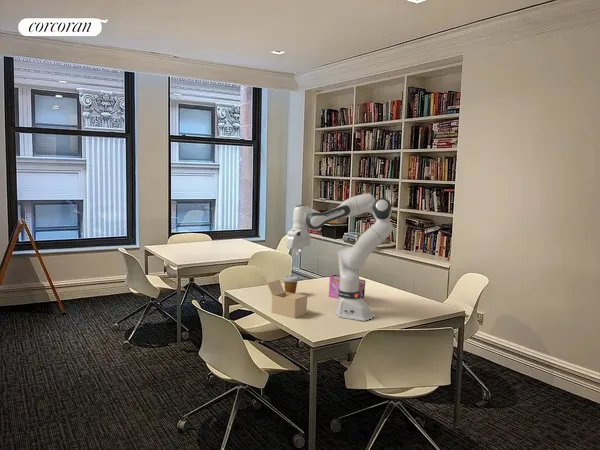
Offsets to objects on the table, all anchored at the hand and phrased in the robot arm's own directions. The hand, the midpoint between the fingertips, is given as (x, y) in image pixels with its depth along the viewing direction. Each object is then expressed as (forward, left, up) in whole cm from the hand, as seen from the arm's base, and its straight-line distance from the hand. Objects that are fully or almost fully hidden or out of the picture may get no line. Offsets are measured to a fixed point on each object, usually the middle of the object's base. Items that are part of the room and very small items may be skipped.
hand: (298, 254), depth 297 cm
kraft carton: (-6, +16, -31) cm, 35 cm away
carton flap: (+4, +16, -18) cm, 24 cm away
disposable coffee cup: (+16, -16, -31) cm, 39 cm away
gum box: (-15, -35, -31) cm, 49 cm away
